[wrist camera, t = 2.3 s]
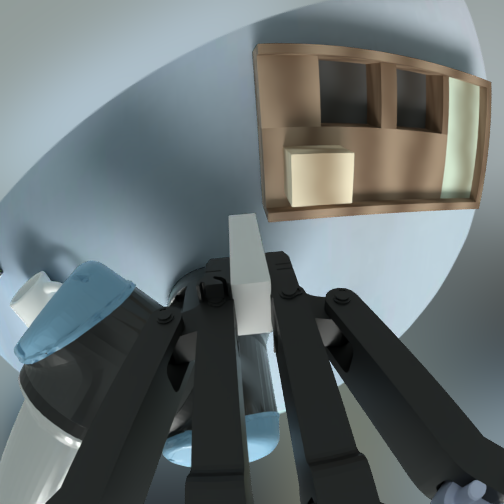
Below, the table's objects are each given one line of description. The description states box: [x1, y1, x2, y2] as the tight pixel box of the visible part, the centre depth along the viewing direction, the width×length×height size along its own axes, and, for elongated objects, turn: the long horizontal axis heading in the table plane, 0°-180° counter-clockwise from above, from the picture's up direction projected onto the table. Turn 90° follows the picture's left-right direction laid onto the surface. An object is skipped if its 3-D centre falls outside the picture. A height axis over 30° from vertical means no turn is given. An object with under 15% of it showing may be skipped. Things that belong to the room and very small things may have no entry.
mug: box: [10, 271, 62, 328], centre depth 36 cm, size 12×10×8 cm
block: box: [283, 145, 354, 207], centre depth 28 cm, size 6×5×4 cm
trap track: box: [252, 43, 491, 222], centre depth 29 cm, size 30×18×6 cm, turn 94°
